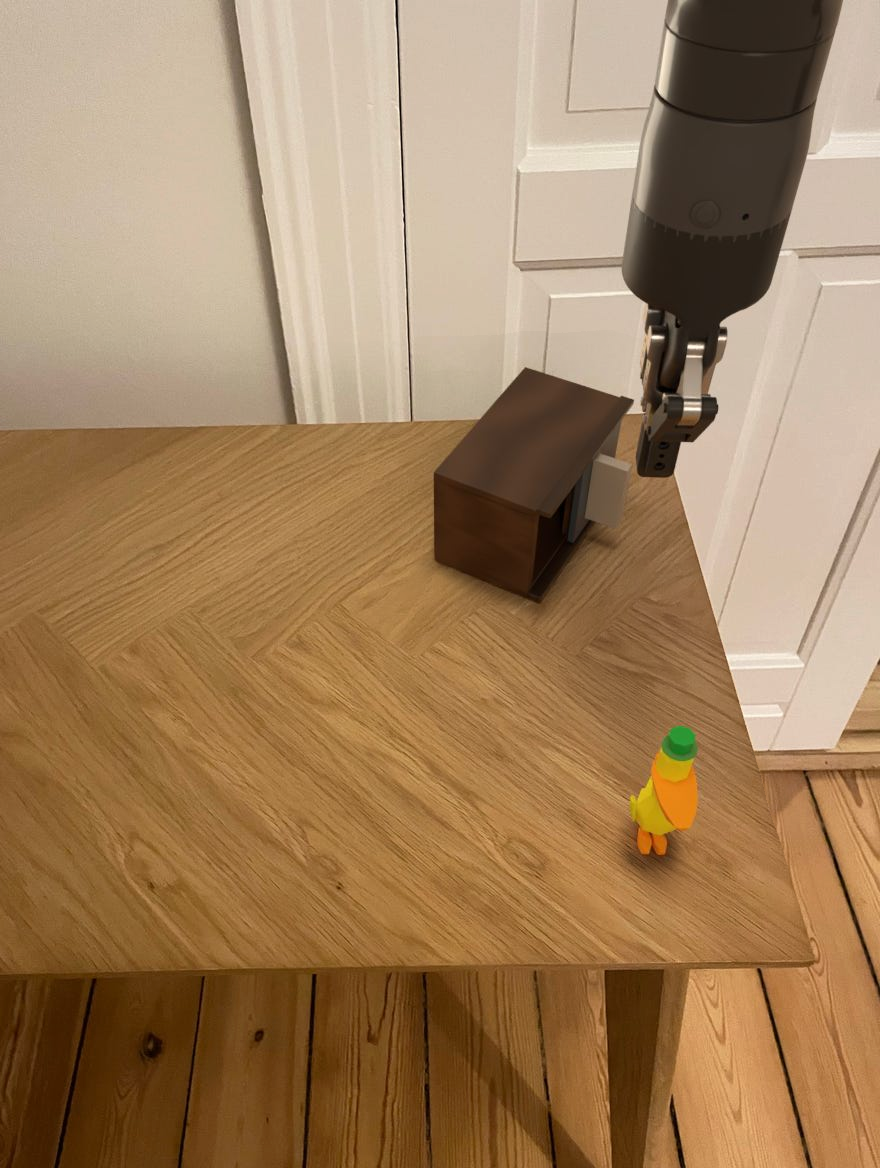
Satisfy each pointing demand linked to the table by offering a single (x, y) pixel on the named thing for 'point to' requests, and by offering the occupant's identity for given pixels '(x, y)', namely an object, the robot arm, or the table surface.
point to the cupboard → (521, 482)
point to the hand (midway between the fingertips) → (653, 469)
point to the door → (600, 490)
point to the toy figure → (667, 792)
